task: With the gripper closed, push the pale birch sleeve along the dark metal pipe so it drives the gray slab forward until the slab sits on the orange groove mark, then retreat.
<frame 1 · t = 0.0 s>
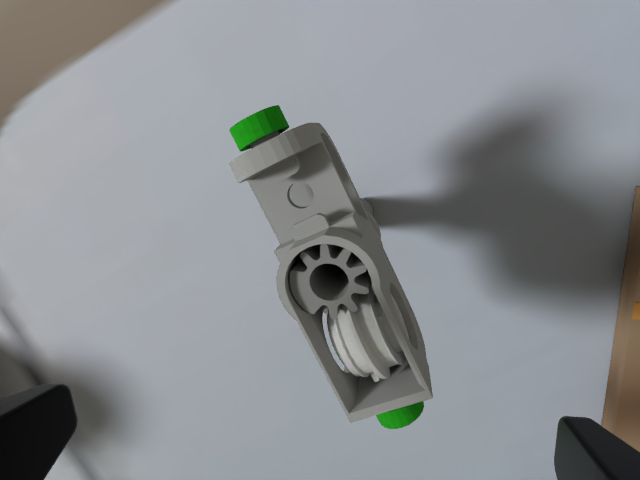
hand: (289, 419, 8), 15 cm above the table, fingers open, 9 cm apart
mechanical component: (358, 212, 21), on the table
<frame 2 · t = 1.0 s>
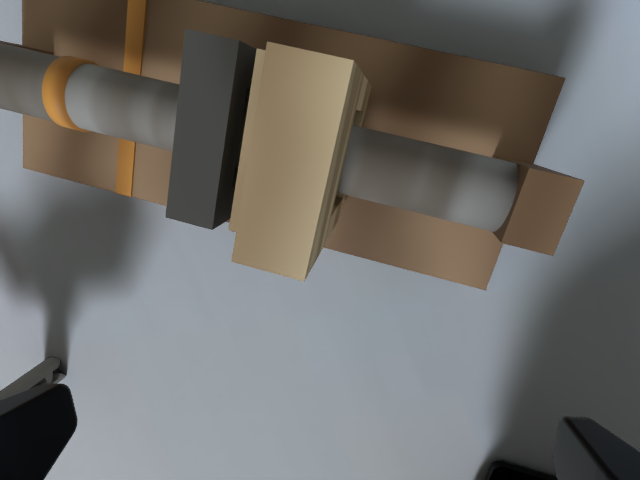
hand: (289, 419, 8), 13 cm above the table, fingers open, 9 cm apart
gray slab: (233, 132, 15), point 5 cm above the table, slide at 0.0 cm
pipe stand: (265, 128, 19), on the table
sleeve: (301, 152, 14), point 6 cm above the table, slide at 0.0 cm
mechanical component: (58, 366, 26), on the table
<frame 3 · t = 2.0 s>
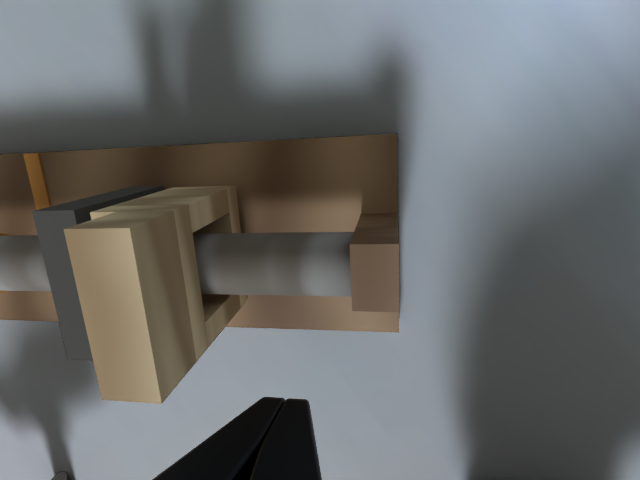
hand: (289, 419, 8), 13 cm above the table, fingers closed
gray slab: (120, 263, 17), point 4 cm above the table, slide at 0.0 cm
pipe stand: (171, 235, 22), on the table
sleeve: (168, 273, 16), point 6 cm above the table, slide at 0.0 cm
mechanical component: (67, 479, 28), on the table
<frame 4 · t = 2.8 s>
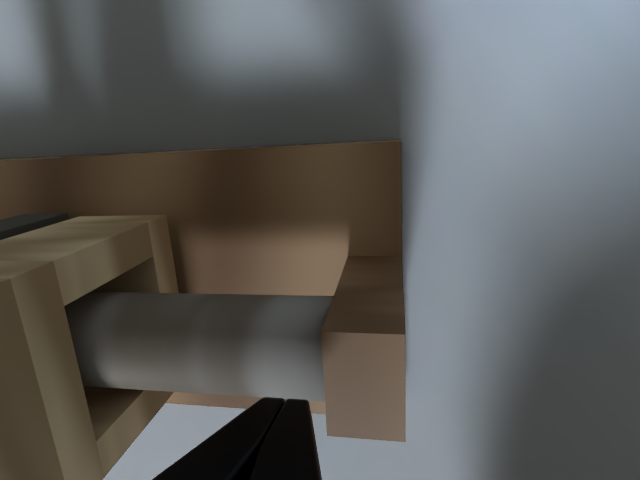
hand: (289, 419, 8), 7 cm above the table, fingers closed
pipe stand: (93, 276, 16), on the table
sleeve: (42, 360, 10), point 6 cm above the table, slide at 0.0 cm
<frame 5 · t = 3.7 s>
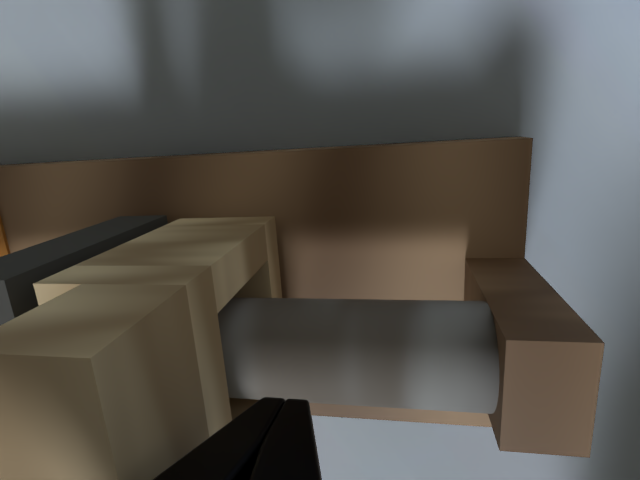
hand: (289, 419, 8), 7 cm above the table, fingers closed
gray slab: (100, 341, 11), point 4 cm above the table, slide at 0.0 cm
pipe stand: (177, 280, 15), on the table
sleeve: (174, 370, 9), point 6 cm above the table, slide at 0.0 cm, touching gripper
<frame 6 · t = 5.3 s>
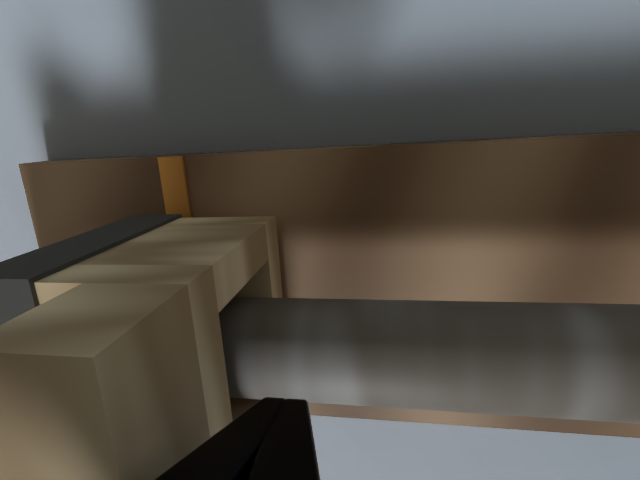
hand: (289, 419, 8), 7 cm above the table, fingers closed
gray slab: (116, 341, 11), point 4 cm above the table, slide at 6.6 cm, touching sleeve
pipe stand: (372, 281, 14), on the table
sleeve: (175, 369, 9), point 6 cm above the table, slide at 7.1 cm, touching gripper, gray slab
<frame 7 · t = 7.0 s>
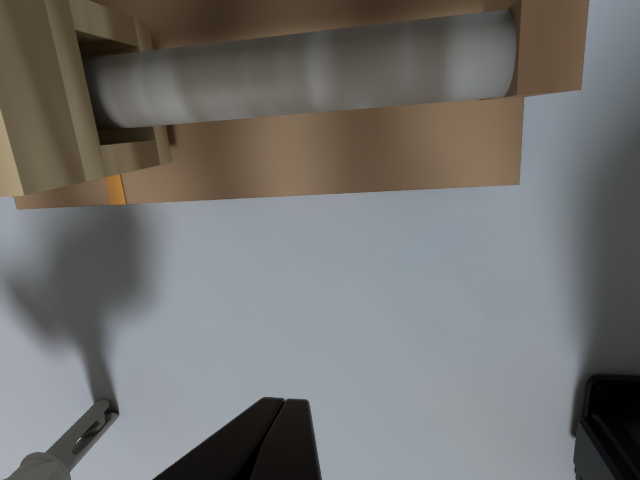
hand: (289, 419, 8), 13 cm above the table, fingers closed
pipe stand: (238, 92, 18), on the table
sleeve: (58, 94, 14), point 6 cm above the table, slide at 7.2 cm, touching gray slab
mechanical component: (109, 408, 25), on the table
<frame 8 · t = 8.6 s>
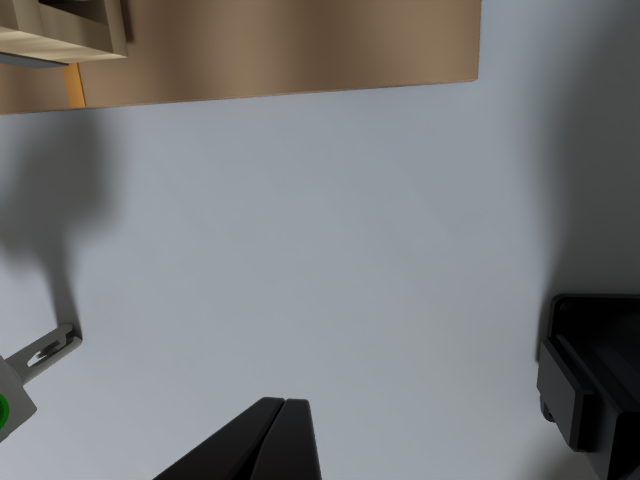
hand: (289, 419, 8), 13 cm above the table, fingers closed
mechanical component: (73, 333, 25), on the table
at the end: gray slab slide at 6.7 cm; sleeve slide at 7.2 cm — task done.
